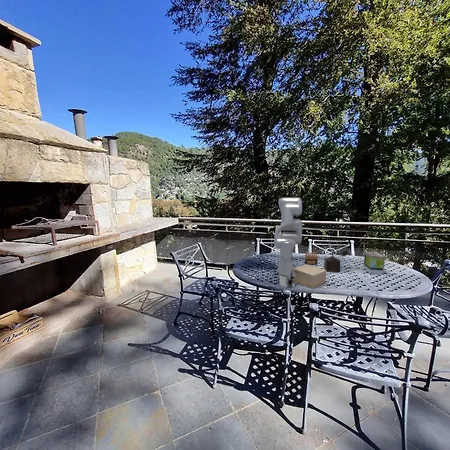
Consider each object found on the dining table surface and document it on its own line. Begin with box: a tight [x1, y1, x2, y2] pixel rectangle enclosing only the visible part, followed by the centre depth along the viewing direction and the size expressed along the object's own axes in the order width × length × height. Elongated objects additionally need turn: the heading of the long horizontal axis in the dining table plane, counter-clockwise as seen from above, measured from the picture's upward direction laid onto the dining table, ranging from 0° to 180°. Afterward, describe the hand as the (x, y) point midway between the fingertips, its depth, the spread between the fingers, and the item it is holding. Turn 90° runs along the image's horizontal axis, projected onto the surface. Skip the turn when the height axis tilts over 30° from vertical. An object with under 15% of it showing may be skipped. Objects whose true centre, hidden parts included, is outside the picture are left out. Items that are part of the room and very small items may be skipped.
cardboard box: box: [292, 270, 327, 289], centre depth 177 cm, size 16×16×8 cm
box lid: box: [293, 263, 327, 277], centre depth 177 cm, size 16×17×1 cm
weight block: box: [278, 275, 291, 288], centre depth 173 cm, size 5×7×7 cm
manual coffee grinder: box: [323, 250, 349, 273], centre depth 203 cm, size 16×11×18 cm
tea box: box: [363, 251, 386, 276], centre depth 200 cm, size 15×10×15 cm, turn 168°
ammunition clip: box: [304, 251, 318, 266], centre depth 220 cm, size 11×2×12 cm, turn 83°
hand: (285, 283), depth 173 cm, fingers open, 7 cm apart
